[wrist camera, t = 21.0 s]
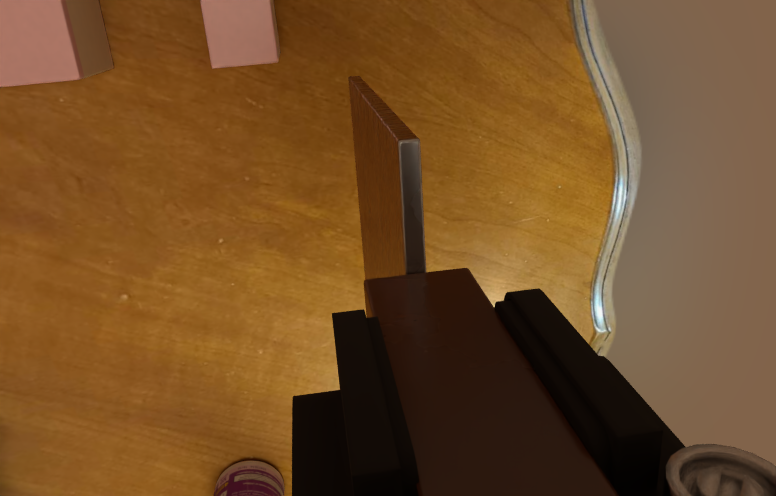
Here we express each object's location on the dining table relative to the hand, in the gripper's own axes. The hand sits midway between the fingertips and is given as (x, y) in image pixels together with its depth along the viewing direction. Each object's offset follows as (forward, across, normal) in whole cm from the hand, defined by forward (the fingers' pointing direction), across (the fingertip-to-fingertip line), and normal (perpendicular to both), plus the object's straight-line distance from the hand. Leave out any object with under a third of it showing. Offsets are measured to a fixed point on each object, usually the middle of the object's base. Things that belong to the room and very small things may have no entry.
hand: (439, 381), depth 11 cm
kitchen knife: (+13, 0, 0) cm, 13 cm away
